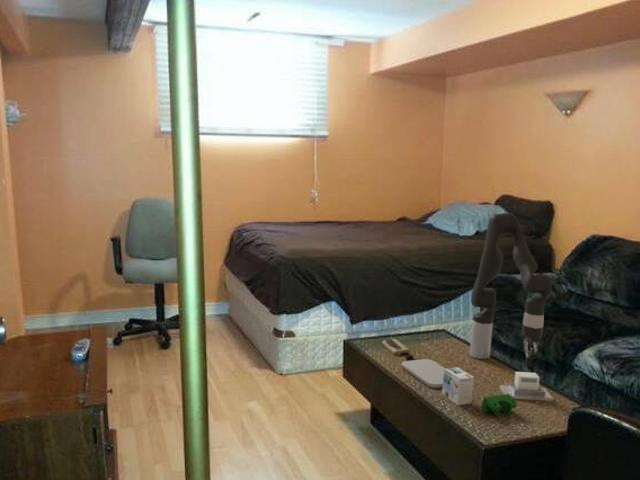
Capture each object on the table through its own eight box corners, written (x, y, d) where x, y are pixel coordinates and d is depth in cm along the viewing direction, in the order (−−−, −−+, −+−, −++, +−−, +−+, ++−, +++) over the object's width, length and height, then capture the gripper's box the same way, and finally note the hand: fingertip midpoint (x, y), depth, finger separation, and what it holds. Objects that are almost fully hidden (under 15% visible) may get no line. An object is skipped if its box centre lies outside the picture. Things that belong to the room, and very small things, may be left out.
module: (513, 387, 225) (515, 371, 224) (533, 389, 224) (535, 372, 223) (517, 393, 220) (519, 376, 219) (537, 394, 219) (539, 377, 218)
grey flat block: (499, 387, 227) (500, 380, 227) (544, 390, 226) (545, 383, 226) (506, 397, 218) (507, 390, 217) (552, 401, 217) (553, 393, 216)
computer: (381, 345, 275) (381, 338, 274) (396, 344, 277) (397, 338, 276) (393, 356, 260) (394, 349, 259) (409, 355, 262) (410, 348, 261)
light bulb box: (441, 394, 218) (443, 368, 217) (455, 392, 221) (457, 366, 219) (457, 405, 208) (459, 378, 207) (472, 403, 211) (474, 376, 209)
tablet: (430, 390, 223) (430, 384, 222) (398, 366, 247) (398, 361, 246) (464, 385, 229) (464, 380, 228) (429, 363, 252) (430, 358, 252)
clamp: (492, 427, 202) (489, 409, 198) (482, 416, 207) (480, 399, 203) (519, 413, 204) (518, 395, 200) (509, 402, 210) (507, 385, 205)
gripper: (518, 319, 224) (514, 359, 227) (528, 328, 211) (524, 371, 214) (537, 320, 224) (532, 361, 227) (548, 329, 211) (543, 373, 213)
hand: (528, 366), depth 220 cm, fingers closed
